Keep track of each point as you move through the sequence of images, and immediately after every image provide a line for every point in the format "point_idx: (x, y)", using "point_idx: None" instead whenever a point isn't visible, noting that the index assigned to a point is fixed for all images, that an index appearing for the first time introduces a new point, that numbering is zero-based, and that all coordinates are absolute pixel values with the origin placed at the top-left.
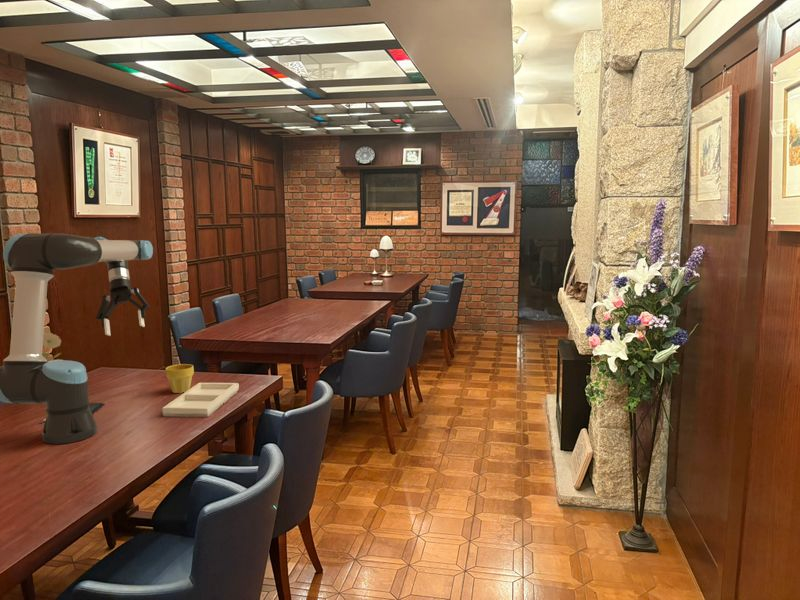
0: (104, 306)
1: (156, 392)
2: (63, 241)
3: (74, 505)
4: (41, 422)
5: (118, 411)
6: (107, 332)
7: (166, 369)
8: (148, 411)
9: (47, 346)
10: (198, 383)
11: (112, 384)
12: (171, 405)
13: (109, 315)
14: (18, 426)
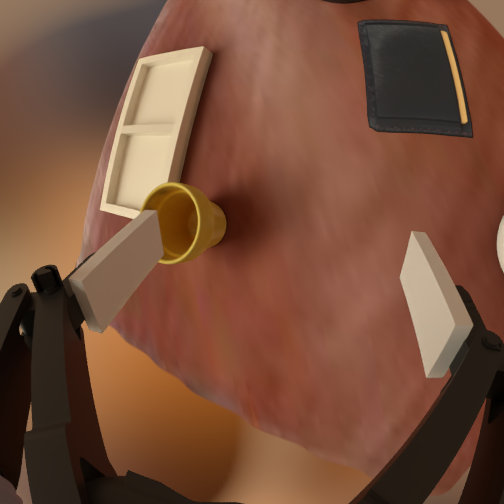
0: (488, 494)
1: (265, 220)
2: None
3: None
4: (444, 28)
5: (312, 73)
6: (413, 244)
7: (194, 198)
8: (245, 74)
9: None
10: None
11: (416, 340)
12: (192, 65)
13: (425, 415)
14: (474, 23)
